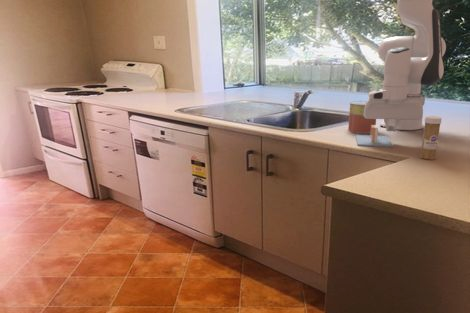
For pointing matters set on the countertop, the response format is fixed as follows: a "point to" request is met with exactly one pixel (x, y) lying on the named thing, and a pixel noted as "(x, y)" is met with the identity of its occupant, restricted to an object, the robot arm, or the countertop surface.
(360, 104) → the canned food
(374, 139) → the tile
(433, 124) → the sprinkles bottle
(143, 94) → the countertop surface
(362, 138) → the mat
